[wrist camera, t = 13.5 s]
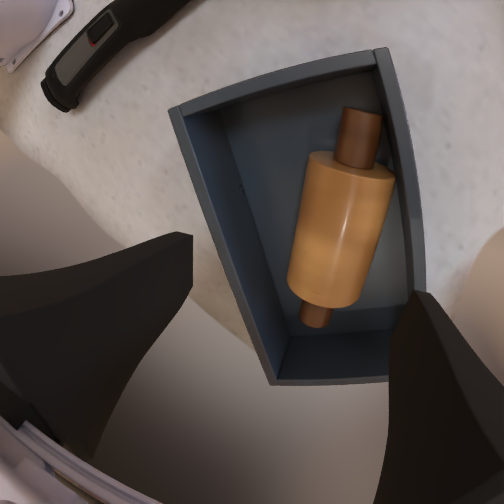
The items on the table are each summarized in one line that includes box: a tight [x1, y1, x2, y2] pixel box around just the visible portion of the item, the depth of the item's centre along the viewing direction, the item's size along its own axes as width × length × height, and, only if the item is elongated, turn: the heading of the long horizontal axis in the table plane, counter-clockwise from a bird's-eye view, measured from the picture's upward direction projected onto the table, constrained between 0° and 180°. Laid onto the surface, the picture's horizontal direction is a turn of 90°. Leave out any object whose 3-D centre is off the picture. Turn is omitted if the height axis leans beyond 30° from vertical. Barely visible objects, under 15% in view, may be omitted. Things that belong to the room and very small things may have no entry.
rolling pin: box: [287, 106, 397, 328], centre depth 15 cm, size 4×11×4 cm, turn 174°
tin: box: [168, 47, 426, 386], centre depth 16 cm, size 9×16×4 cm, turn 18°
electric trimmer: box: [41, 0, 189, 113], centre depth 14 cm, size 4×16×3 cm, turn 119°
